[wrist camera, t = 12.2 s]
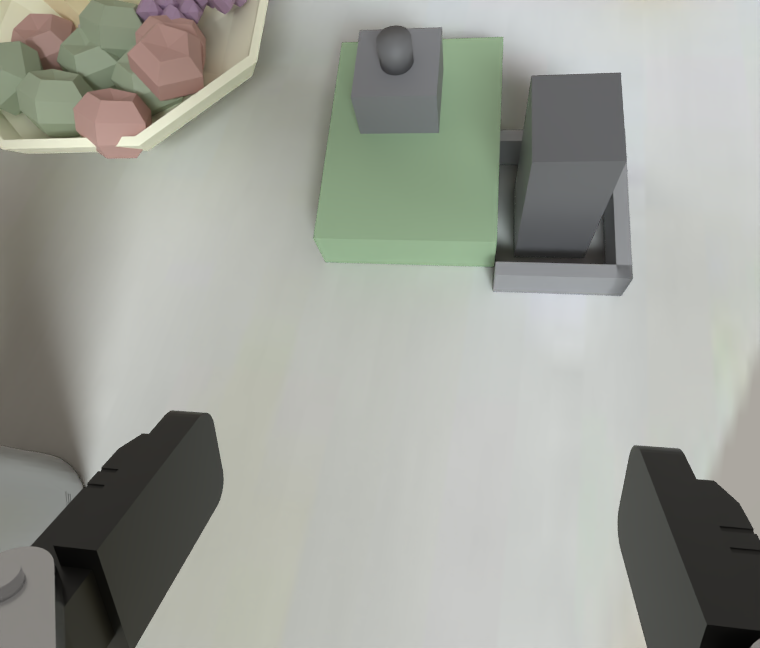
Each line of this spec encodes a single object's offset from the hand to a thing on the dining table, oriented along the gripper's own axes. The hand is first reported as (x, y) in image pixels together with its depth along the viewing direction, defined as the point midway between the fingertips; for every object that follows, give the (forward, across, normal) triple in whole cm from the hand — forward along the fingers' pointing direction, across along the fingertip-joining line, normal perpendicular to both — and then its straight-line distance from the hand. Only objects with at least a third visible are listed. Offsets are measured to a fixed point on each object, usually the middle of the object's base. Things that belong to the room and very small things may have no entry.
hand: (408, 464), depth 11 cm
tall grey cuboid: (+36, -6, +5) cm, 36 cm away
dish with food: (+46, +29, -5) cm, 55 cm away
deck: (+38, 0, +2) cm, 38 cm away
